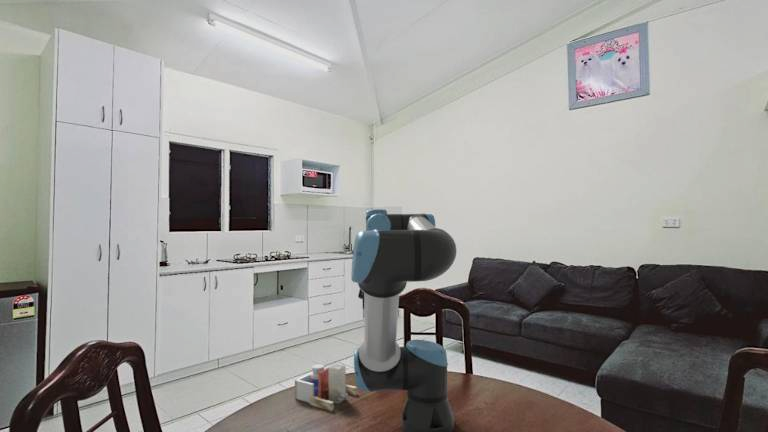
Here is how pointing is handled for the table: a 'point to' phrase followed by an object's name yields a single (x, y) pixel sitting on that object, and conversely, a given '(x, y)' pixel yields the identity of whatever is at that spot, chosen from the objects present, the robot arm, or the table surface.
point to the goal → (304, 388)
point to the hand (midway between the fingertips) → (377, 314)
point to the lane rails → (329, 404)
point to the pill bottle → (315, 377)
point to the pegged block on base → (333, 383)
